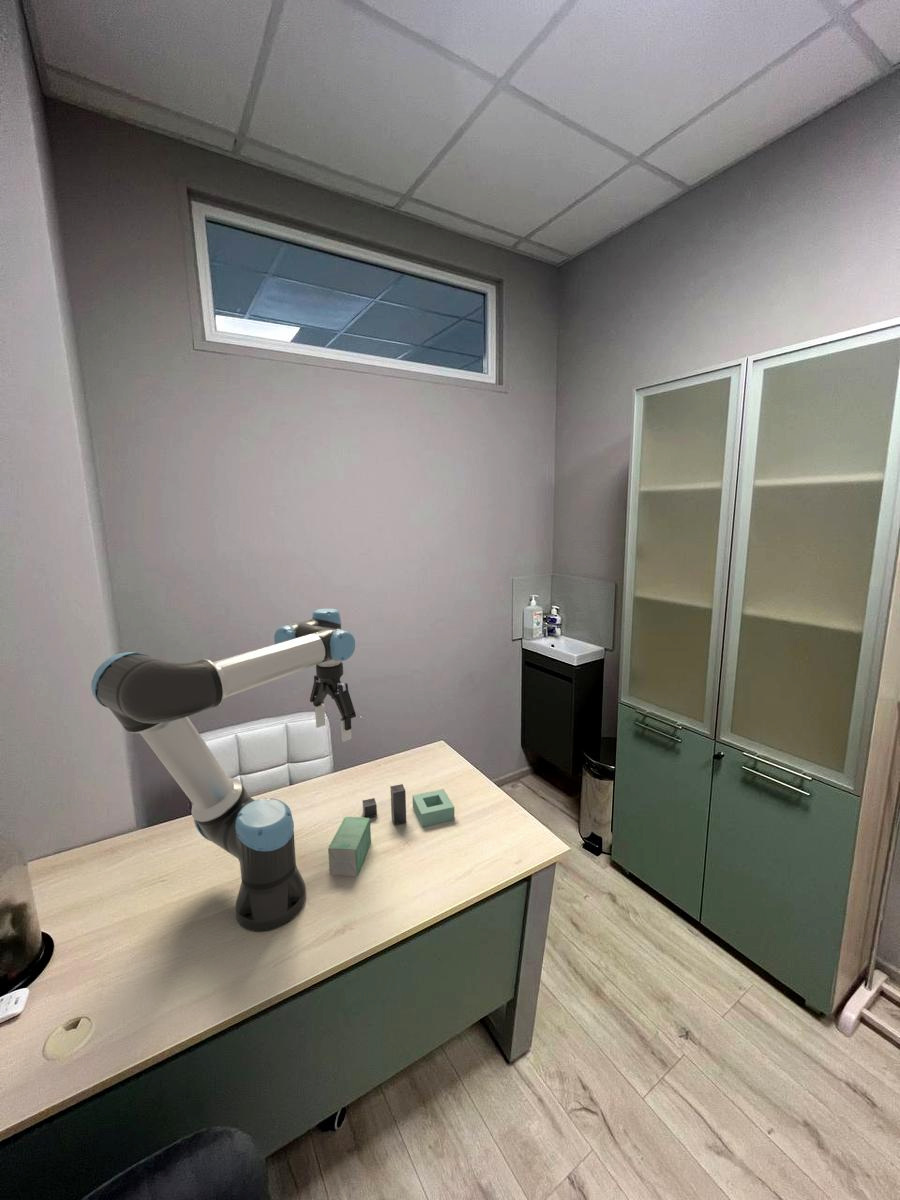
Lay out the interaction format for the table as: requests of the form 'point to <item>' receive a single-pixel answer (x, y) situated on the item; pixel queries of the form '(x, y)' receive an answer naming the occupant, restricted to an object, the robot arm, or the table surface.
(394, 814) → the long pin
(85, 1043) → the table surface
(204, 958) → the table surface
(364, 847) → the box
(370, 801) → the short pin
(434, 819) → the hole block
